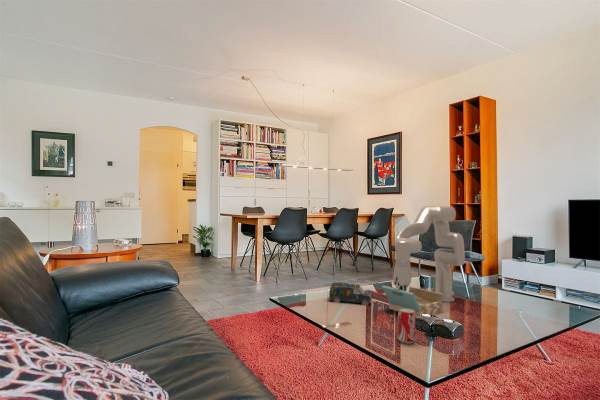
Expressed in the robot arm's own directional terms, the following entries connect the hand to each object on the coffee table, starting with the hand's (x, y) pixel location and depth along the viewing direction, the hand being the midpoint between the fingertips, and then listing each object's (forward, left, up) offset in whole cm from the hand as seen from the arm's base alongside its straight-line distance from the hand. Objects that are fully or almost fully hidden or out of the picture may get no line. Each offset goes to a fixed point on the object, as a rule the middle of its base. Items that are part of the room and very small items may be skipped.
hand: (402, 297), depth 175 cm
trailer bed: (-11, 0, -9) cm, 14 cm away
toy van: (+7, -32, -9) cm, 34 cm away
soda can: (+30, +23, -9) cm, 38 cm away
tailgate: (-1, 0, -5) cm, 5 cm away
